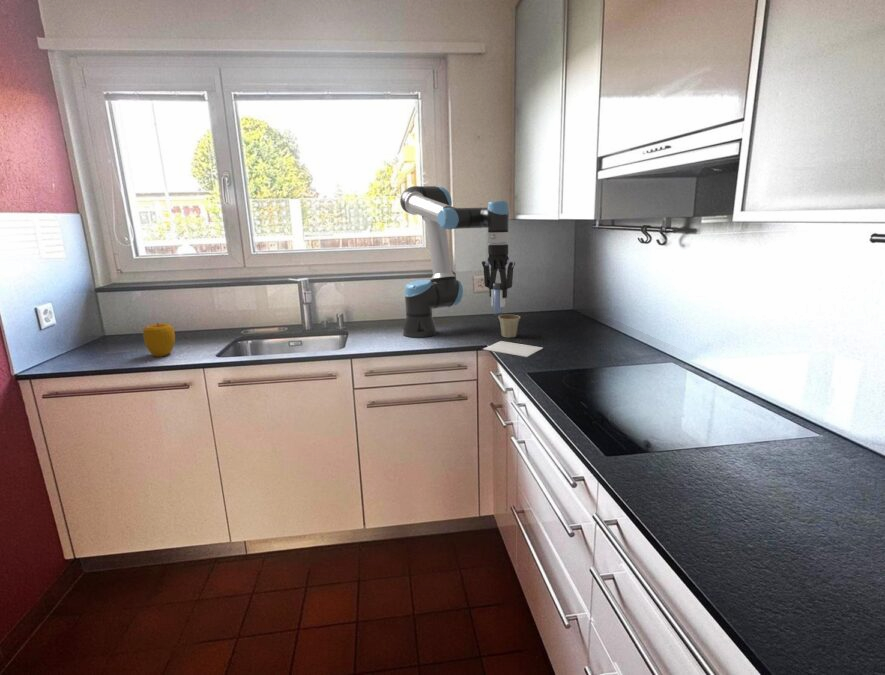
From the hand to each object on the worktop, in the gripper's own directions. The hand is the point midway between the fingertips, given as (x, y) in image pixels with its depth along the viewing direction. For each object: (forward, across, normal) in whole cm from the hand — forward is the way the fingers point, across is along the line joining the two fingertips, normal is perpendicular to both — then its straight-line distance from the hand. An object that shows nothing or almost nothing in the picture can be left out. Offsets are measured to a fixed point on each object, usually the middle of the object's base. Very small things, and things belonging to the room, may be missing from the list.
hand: (498, 305), depth 184 cm
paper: (+17, +5, +3) cm, 18 cm away
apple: (+16, -107, -78) cm, 133 cm away
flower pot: (+17, -6, +20) cm, 27 cm away
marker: (+3, 0, 0) cm, 3 cm away
